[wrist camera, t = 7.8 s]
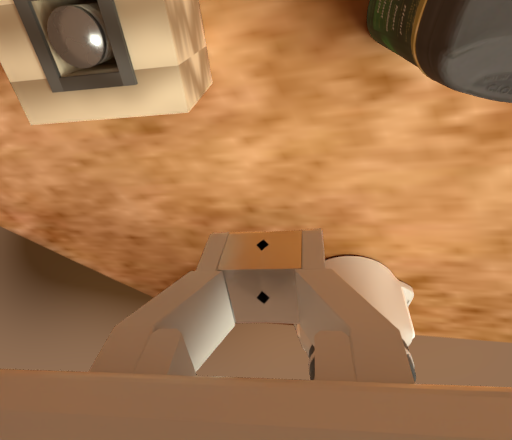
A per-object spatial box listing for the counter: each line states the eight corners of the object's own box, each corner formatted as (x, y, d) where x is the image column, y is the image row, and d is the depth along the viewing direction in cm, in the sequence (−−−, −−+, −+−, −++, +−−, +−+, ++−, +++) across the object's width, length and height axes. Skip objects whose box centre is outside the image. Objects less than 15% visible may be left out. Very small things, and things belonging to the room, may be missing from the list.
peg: (155, 46, 33) (110, 65, 25) (117, 50, 34) (61, 70, 26) (143, -3, 31) (90, 2, 23) (103, 3, 32) (37, 9, 23)
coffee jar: (354, 42, 32) (410, 94, 17) (386, -65, 27) (503, -128, 12) (453, 62, 32) (598, 129, 17) (501, -42, 28) (757, -76, 12)
